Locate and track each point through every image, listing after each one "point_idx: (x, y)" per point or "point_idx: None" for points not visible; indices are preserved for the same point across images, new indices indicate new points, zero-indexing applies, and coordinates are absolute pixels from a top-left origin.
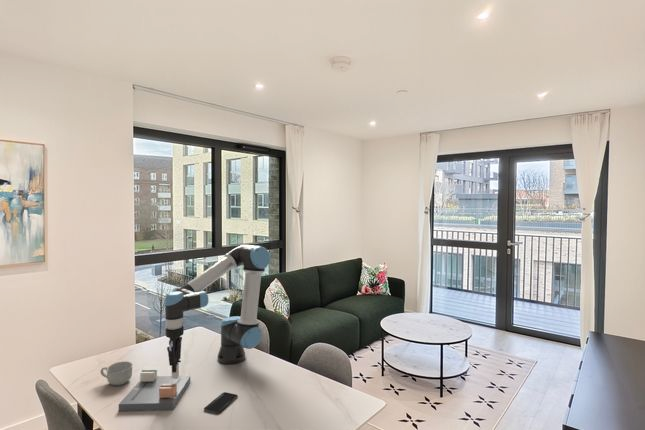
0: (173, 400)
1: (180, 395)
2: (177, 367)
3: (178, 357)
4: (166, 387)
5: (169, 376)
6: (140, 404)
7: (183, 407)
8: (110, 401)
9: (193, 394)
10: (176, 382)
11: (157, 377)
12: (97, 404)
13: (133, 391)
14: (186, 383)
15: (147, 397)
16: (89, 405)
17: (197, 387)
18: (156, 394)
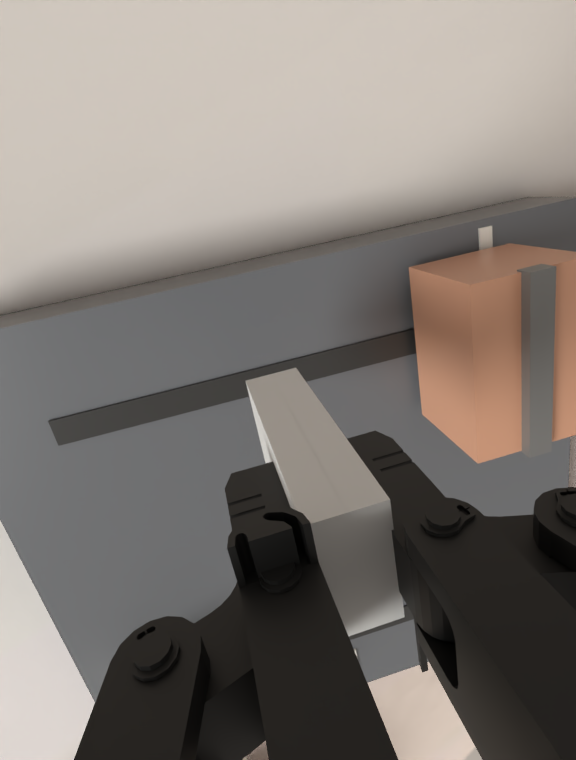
0: (535, 221)
1: (332, 245)
2: (360, 461)
3: (336, 682)
4: (569, 361)
5: (40, 574)
6: (563, 481)
7: (489, 110)
8: (416, 695)
9: (230, 125)
10: (159, 416)
11: (105, 660)
12: (451, 725)
13: (389, 654)
14: (108, 300)
15: (477, 497)
16: (461, 749)
17: (56, 156)
18: (427, 458)
